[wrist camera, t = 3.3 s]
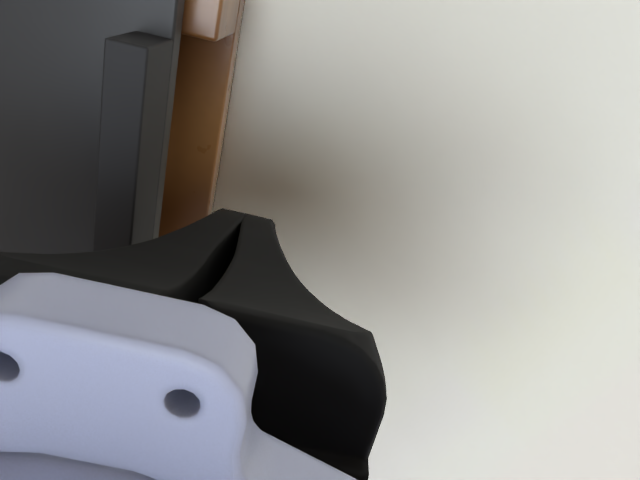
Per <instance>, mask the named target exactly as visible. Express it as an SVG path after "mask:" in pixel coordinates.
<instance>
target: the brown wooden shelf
mask: <svg viewBox="0 0 640 480" xmlns="http://www.w3.org/2000/svg"><path fill="white" fill-rule="evenodd" d="M244 3H245V0H185V3H184V12H183V21H182V30H181V39H180V48H179V57H178V66H177V75H176V84H175V93H174V102H173V111H172V120H171V129H170V138H169V147H168V156H167V164H166V173H165V182H164V191H163V200H162V209H161V218H160V227H159V236H158V237H161V236H163V235H166V234H168V233H171V232H173V231H176V230H178V229H181V228H183V227H186V226H188V225H190V224H192V223H194V222H196V221H198V220H200V219H202V218H204V217H206V216H208V215H210V214H212V210H213V203H214V197H215V191H216V184H217V178H218V171H219V165H220V158H221V152H222V145H223V139H224V132H225V126H226V119H227V113H228V106H229V100H230V93H231V87H232V80H233V74H234V68H235V61H236V55H237V48H238V42H239V35H240V29H241V22H242V16H243V9H244Z"/></svg>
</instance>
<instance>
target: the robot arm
mask: <svg viewBox="0 0 640 480" xmlns="http://www.w3.org/2000/svg"><path fill="white" fill-rule="evenodd" d="M386 400H387V397H386V383H385V376H384V371H383V367H382V363H381V360H380V356H379V353H378V350H377V347H376V343H375V340H374V337H373V335H372V333H371V332H370V331H368V330H366V329H364V328H362V327H360V326H358V325H356V324H354V323H352V322H350V321H348V320H346V319H344V318H342V317H341V316H339V315H338V314H336V313H335V312H333V311H332V310H330V309H329V308H328V307H326V306H325V305H324V304H323V303H321V302H320V301H319V300H318V299H317V298H316V297H315V296H314V295H312V294H311V293H310V292H309V291H308V290H307V289H306V288H305V286H304V285H303V284H302V283H301V282H300V280H299V279H298V278H297V277H296V275H295V274H294V272H293V271H292V269H291V267H290V265H289V264H288V262H287V260H286V258H285V256H284V253H283V251H282V249H281V247H280V244H279V241H278V238H277V235H276V230H275V224H274V222H273V220H271V219H267V218H263V217H258V216H254V215H249V214H245V213H240V212H236V211H232V210H227V209H220V210H218V211H216V212H214V213H212V214H210V215H208V216H206V217H204V218H202V219H200V220H198V221H196V222H194V223H192V224H190V225H188V226H186V227H183V228H181V229H178V230H176V231H173V232H171V233H168V234H166V235H163V236H161V237H158V238H155V239H152V240H149V241H145V242H141V243H137V244H133V245H129V246H125V247H119V248H112V249H106V250H100V251H93V252H81V253H63V254H35V253H12V252H0V480H368V476H369V470H368V457H369V454H370V451H371V449H372V446H373V443H374V440H375V438H376V435H377V432H378V429H379V427H380V424H381V421H382V418H383V416H384V411H385V405H386Z"/></svg>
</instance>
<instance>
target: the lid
mask: <svg viewBox="0 0 640 480" xmlns="http://www.w3.org/2000/svg"><path fill="white" fill-rule="evenodd" d="M184 3H185V0H0V252H12V253H35V254H63V253H81V252H93V251H100V250H106V249H112V248H119V247H125V246H129V245H133V244H137V243H141V242H145V241H149V240H152V239H155V238H158V236H159V227H160V218H161V209H162V200H163V191H164V182H165V173H166V164H167V156H168V147H169V138H170V129H171V120H172V111H173V102H174V93H175V84H176V75H177V66H178V57H179V48H180V39H181V30H182V21H183V12H184Z"/></svg>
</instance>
